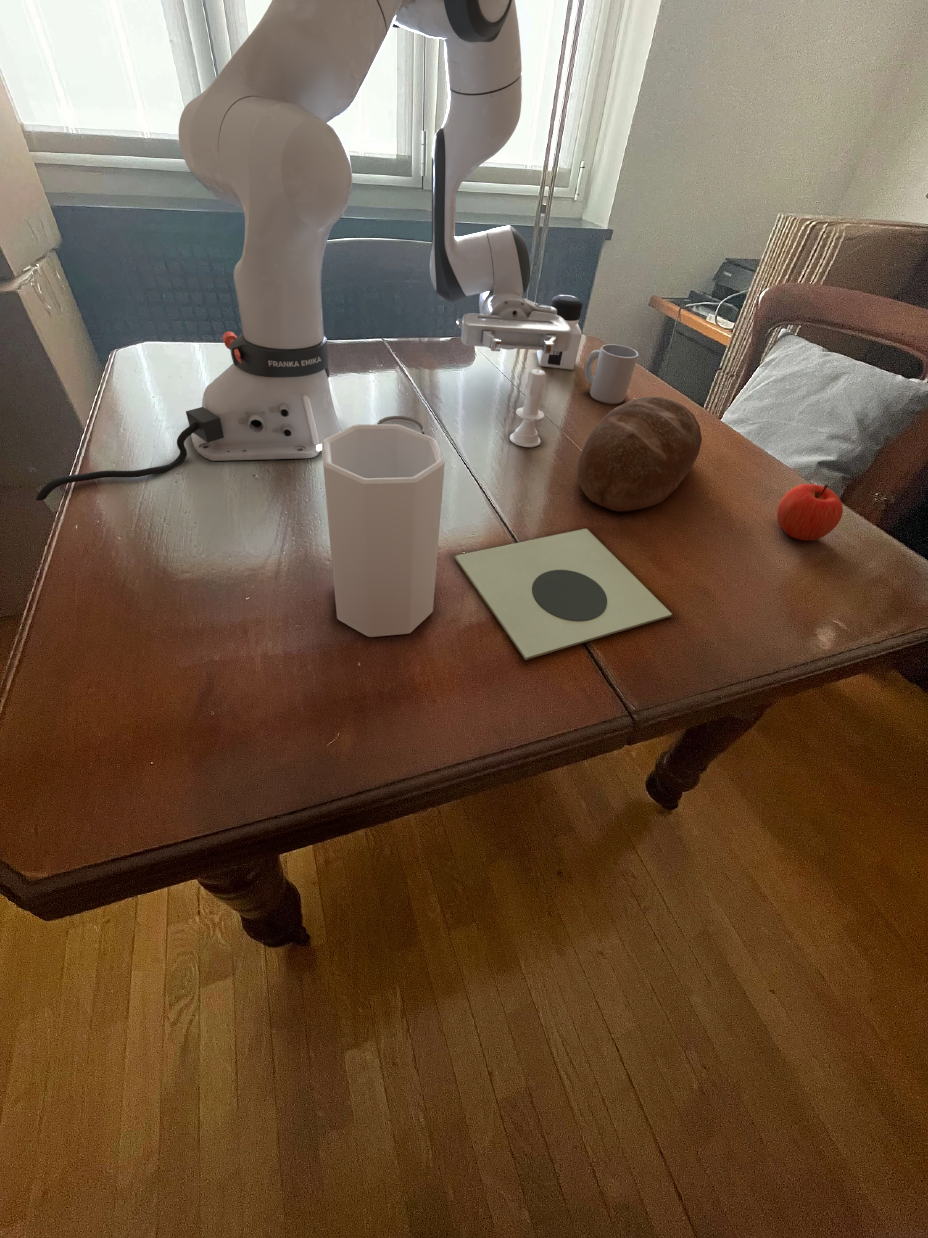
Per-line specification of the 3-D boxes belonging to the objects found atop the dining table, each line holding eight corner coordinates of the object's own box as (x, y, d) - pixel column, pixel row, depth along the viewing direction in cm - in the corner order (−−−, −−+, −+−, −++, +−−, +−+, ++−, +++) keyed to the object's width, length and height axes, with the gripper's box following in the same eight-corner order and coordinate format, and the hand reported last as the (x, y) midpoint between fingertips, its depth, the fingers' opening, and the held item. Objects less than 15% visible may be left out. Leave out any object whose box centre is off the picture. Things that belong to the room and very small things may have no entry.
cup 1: (420, 648, 57) (430, 493, 44) (317, 627, 57) (297, 468, 44) (442, 581, 65) (456, 433, 52) (351, 563, 65) (342, 413, 52)
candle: (546, 444, 93) (562, 372, 85) (522, 450, 91) (536, 376, 82) (527, 430, 96) (540, 359, 88) (503, 436, 94) (514, 363, 85)
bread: (551, 493, 82) (569, 419, 74) (621, 429, 100) (641, 365, 92) (650, 533, 76) (680, 459, 69) (704, 458, 95) (733, 393, 87)
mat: (525, 660, 57) (526, 657, 57) (454, 558, 68) (455, 554, 68) (671, 616, 64) (672, 613, 64) (585, 530, 75) (586, 527, 75)
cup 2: (614, 407, 107) (628, 360, 101) (571, 391, 111) (581, 344, 105) (630, 398, 112) (644, 352, 105) (588, 382, 116) (599, 337, 109)
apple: (773, 511, 84) (801, 464, 79) (828, 532, 82) (860, 484, 76) (761, 533, 79) (789, 484, 74) (819, 556, 77) (853, 507, 71)
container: (573, 370, 120) (589, 304, 111) (539, 366, 120) (551, 300, 111) (569, 357, 126) (583, 294, 117) (536, 354, 125) (548, 290, 116)
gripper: (456, 300, 100) (465, 324, 91) (563, 307, 103) (583, 332, 94) (454, 336, 105) (462, 363, 95) (556, 343, 108) (574, 370, 98)
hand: (523, 348), depth 94 cm, fingers open, 8 cm apart
